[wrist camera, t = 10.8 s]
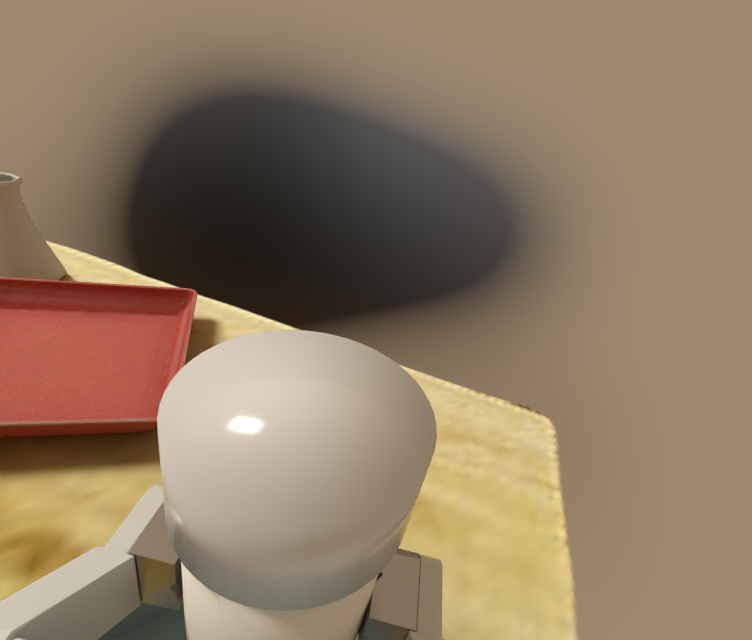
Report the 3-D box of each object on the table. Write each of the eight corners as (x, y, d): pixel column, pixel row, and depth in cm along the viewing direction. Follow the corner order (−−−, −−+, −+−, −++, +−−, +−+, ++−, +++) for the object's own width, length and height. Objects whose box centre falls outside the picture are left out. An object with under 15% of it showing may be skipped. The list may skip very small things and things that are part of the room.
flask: (82, 273, 46) (67, 178, 41) (24, 303, 39) (-2, 195, 34) (17, 257, 46) (-5, 160, 41) (-51, 284, 40) (-87, 174, 35)
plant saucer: (198, 314, 44) (198, 286, 42) (177, 452, 29) (175, 417, 28) (-21, 307, 38) (-31, 274, 37) (-182, 474, 24) (-211, 431, 22)
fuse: (165, 673, 13) (128, 356, 7) (295, 596, 16) (347, 316, 10) (213, 863, 10) (215, 596, 4) (362, 731, 13) (491, 450, 7)
